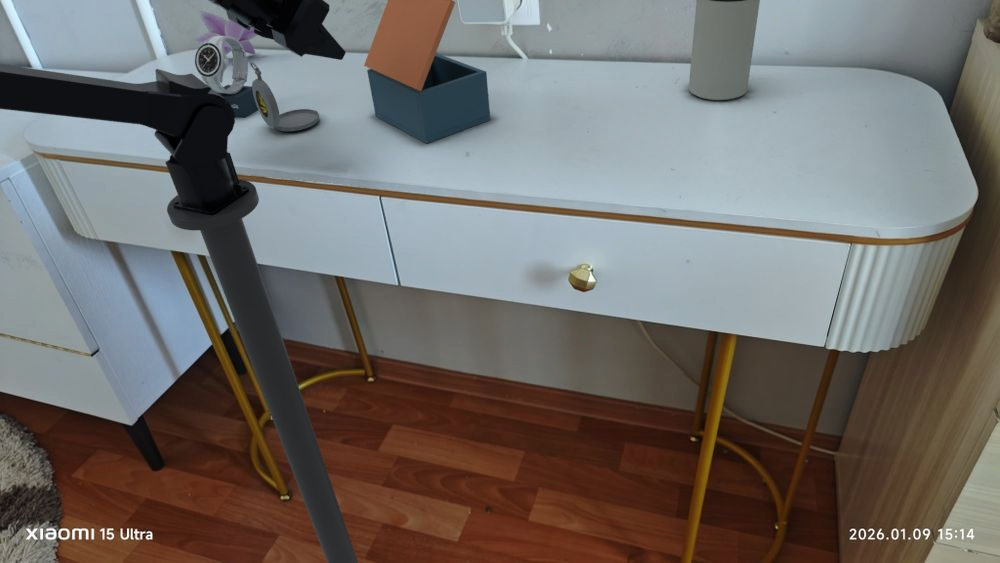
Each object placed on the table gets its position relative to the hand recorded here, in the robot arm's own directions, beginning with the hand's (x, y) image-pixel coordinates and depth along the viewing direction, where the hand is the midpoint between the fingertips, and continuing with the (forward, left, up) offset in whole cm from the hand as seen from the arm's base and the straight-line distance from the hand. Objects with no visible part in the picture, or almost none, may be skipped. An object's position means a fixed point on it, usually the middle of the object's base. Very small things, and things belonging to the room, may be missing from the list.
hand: (332, 51), depth 84 cm
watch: (+6, +25, -13) cm, 29 cm away
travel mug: (+30, -42, -13) cm, 53 cm away
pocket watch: (+3, +13, -13) cm, 19 cm away
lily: (+25, +42, -13) cm, 51 cm away
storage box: (+11, -6, -13) cm, 18 cm away
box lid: (+10, -5, -1) cm, 11 cm away
